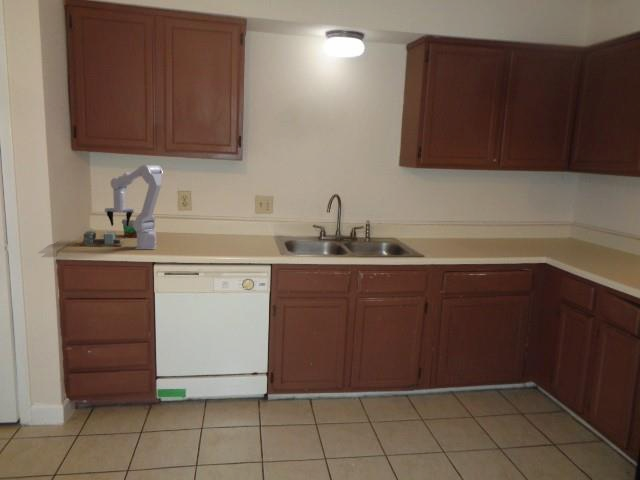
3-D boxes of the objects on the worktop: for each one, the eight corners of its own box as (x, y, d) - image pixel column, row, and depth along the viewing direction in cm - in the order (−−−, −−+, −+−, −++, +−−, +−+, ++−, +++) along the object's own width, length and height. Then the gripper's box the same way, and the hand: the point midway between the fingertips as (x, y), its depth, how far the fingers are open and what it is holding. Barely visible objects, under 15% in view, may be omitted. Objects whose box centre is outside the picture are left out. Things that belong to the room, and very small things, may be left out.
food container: (117, 236, 282) (116, 219, 280) (125, 234, 287) (125, 217, 285) (132, 239, 276) (132, 221, 274) (140, 237, 281) (140, 220, 279)
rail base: (123, 243, 264) (123, 231, 263) (120, 246, 257) (120, 234, 255) (83, 243, 260) (83, 231, 259) (79, 246, 252) (79, 233, 251)
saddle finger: (115, 241, 262) (115, 231, 261) (112, 244, 256) (112, 234, 255) (106, 241, 261) (106, 231, 260) (103, 244, 255) (103, 234, 254)
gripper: (134, 200, 267) (135, 224, 269) (106, 199, 263) (107, 224, 266) (132, 201, 260) (133, 226, 262) (103, 200, 257) (104, 226, 259)
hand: (119, 225), depth 264 cm, fingers open, 7 cm apart
